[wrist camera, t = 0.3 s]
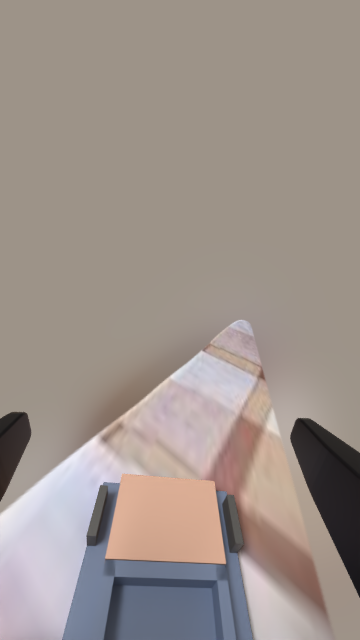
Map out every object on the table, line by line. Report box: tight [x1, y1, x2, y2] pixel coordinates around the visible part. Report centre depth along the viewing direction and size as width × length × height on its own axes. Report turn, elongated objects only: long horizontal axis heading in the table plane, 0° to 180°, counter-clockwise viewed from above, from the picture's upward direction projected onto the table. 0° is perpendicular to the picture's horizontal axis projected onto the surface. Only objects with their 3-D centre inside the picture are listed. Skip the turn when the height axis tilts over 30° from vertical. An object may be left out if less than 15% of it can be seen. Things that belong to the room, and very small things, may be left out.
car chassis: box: [62, 474, 253, 640], centre depth 13 cm, size 14×11×3 cm
